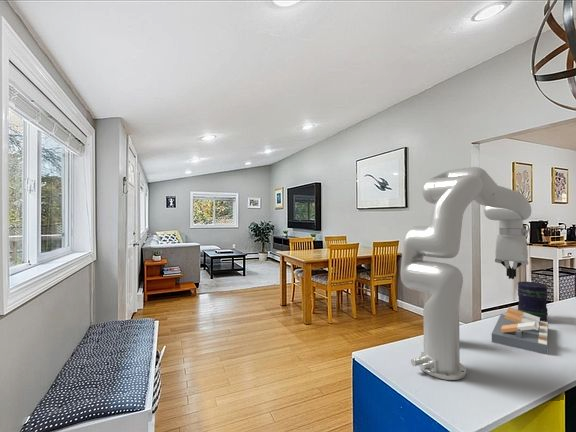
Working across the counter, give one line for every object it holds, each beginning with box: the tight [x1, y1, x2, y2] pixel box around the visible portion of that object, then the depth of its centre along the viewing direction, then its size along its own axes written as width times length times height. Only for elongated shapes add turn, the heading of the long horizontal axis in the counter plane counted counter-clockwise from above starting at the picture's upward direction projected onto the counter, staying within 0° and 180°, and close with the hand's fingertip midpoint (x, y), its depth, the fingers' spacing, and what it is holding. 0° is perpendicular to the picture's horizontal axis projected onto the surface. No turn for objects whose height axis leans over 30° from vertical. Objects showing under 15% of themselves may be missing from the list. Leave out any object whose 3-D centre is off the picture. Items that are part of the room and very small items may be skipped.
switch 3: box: [501, 322, 537, 333], centre depth 105 cm, size 4×10×2 cm, turn 49°
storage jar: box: [517, 281, 549, 322], centre depth 128 cm, size 10×10×15 cm
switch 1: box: [506, 306, 540, 323], centre depth 117 cm, size 4×10×2 cm, turn 49°
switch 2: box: [504, 311, 539, 330], centre depth 111 cm, size 4×10×2 cm, turn 49°
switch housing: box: [491, 313, 549, 355], centre depth 111 cm, size 26×15×5 cm, turn 139°
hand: (511, 278), depth 119 cm, fingers closed
